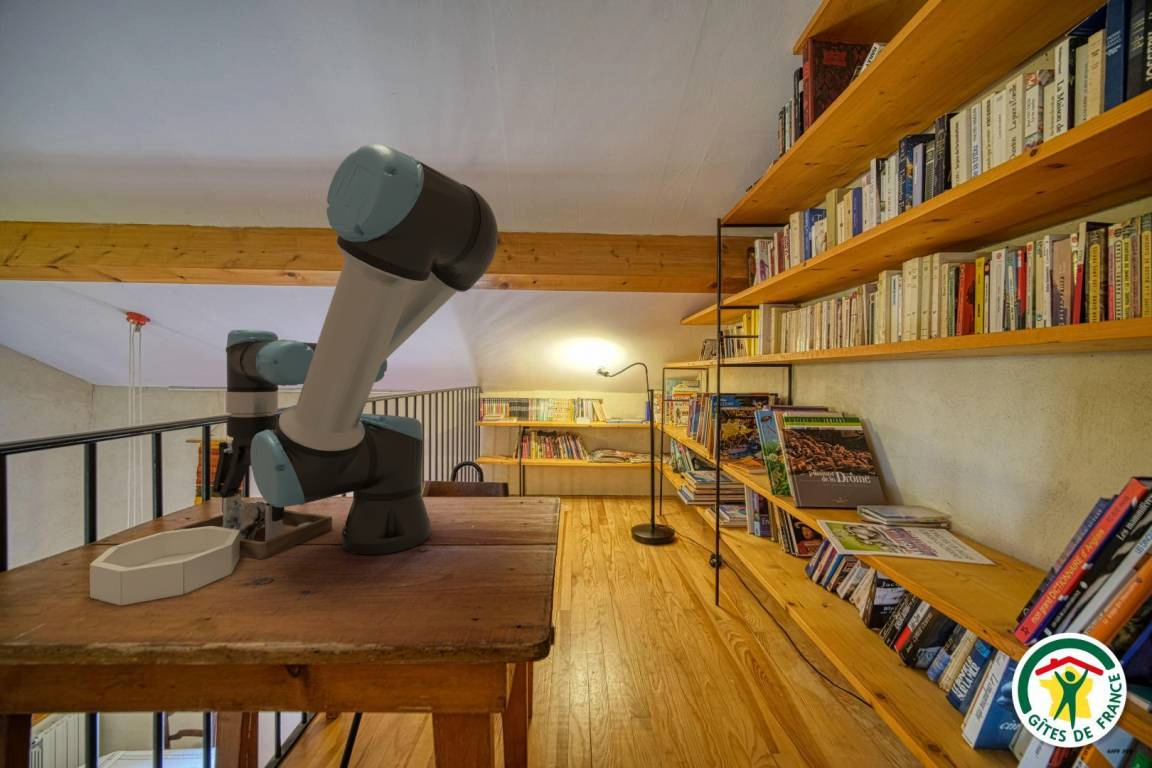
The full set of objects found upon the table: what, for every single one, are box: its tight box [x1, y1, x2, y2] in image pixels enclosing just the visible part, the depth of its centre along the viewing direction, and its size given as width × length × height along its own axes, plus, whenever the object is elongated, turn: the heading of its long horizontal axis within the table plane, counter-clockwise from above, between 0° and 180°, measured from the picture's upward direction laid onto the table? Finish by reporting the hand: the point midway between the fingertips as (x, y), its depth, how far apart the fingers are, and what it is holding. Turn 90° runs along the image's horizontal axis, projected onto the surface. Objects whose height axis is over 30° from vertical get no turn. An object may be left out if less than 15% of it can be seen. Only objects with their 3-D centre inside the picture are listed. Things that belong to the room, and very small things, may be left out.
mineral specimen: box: [222, 499, 267, 541], centre depth 78 cm, size 10×8×10 cm
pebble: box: [296, 522, 313, 529], centre depth 81 cm, size 3×3×2 cm
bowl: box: [89, 526, 241, 606], centre depth 63 cm, size 15×15×4 cm
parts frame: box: [173, 509, 333, 560], centre depth 78 cm, size 20×14×2 cm
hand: (252, 534), depth 79 cm, fingers open, 9 cm apart
